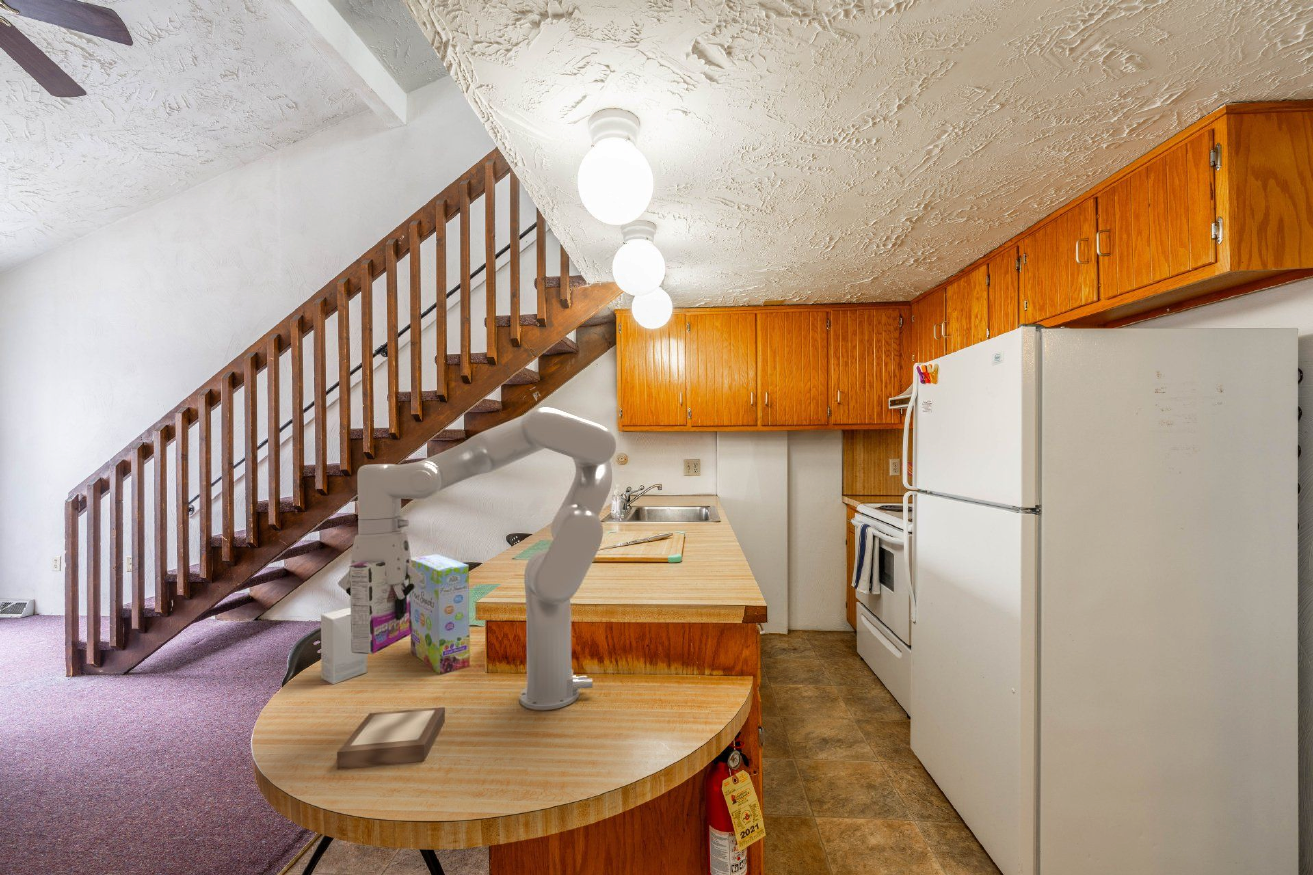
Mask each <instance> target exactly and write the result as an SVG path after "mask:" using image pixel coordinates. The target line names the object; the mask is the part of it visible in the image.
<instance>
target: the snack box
mask: <svg viewBox="0 0 1313 875" xmlns="http://www.w3.org/2000/svg"><path fill="white" fill-rule="evenodd" d="M411 564H412V567H414V568H415V569H416V570H417V571H418V572H419V573H420V574H422V575H423V579H422V580H421V581H420V582H419V584H418V585H417V586H416V587H415V588H414V589H413V590H412V591H411V592H410V600H411V602H410V603H411V634H410V653H412V654H413V655H415V656H416V657H417V658H419V659H420V660H421V661H423V663H425V664H426V665H427V666H429V667H430V668H431V669H433V671H435V672H436V673H437V674H438V675H443V674H447V673H450V672H454V671H457V670H461V669H465V668H468V667H470V666H471V654H470V653H471V651H470V650H471V649H470V648H471V645H470V644H471V643H470V642H471V641H470V639H471V638H470V637H471V636H470V584H469V583H470V582H469V581H470V580H469V579H470V578H469V577H470V575H469V574H470V573H469V570H470V569H469V568H470V565H469V564H466V563H463V562H461V561H458V560H457V559H456V560H455V559H453V558H450V557H447V556H444V555H441V554H437V553H435V554H428V555H423V556H422V555H420V556H414V557H411ZM411 581H412V577H411V578H410V582H411Z"/></svg>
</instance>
